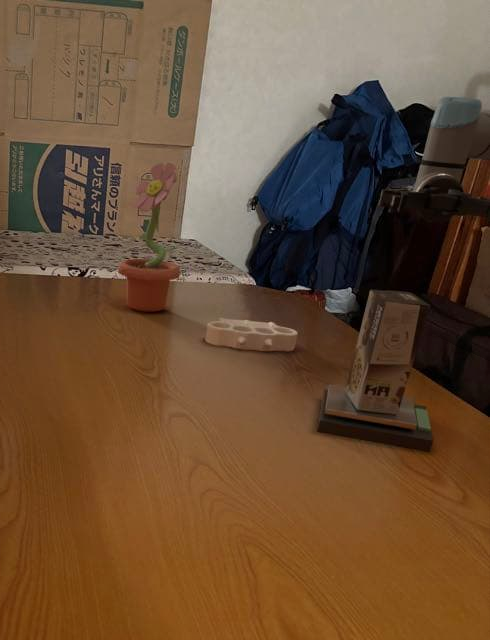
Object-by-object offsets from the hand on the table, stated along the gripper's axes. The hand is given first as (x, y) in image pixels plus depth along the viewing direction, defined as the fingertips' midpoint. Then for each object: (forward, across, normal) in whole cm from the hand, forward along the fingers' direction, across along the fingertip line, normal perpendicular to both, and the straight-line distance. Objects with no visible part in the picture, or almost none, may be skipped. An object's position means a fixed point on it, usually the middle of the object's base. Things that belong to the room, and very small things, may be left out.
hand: (449, 209), depth 118 cm
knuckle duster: (-20, +28, -30) cm, 46 cm away
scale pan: (+17, +5, -28) cm, 33 cm away
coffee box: (+17, +5, -27) cm, 32 cm away
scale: (+17, +4, -30) cm, 35 cm away
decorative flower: (-36, +54, -30) cm, 72 cm away
